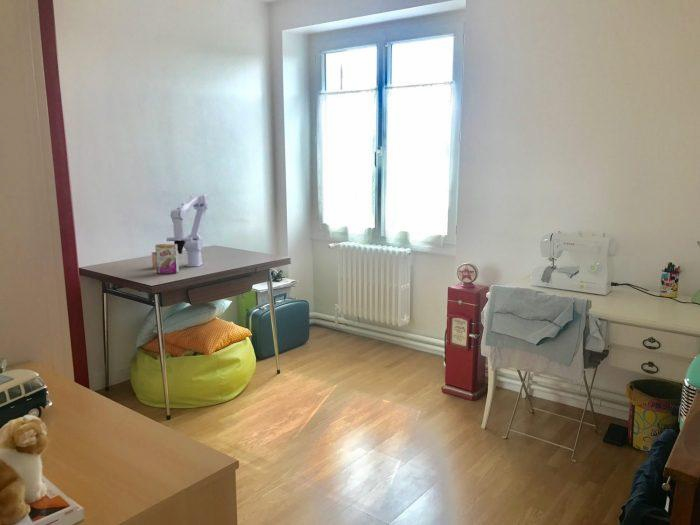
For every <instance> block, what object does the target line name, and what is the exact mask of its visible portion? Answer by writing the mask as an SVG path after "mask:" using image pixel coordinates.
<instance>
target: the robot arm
mask: <svg viewBox="0 0 700 525" xmlns="http://www.w3.org/2000/svg"><path fill="white" fill-rule="evenodd" d="M209 204H210V198H209V195H208V194H206V193H203V194H202V193H192V194H191V195H190V196H189V199H188V200H187V201H186V202H181V204H180V205H179V206H178V207H177V208H174V209H172V210H171V211H170V218H171V221H172V223H173V225H172V226H173V236H171V237H166V242H173V244H177V247H178V255H182V254H183V251H184V250H185V251H186V252H187V253H186V255H187V264H186V265H185V267H200V266H201V265H203V264H204V262H203V260H202V253H201V250H202V249H203V241H204V240H203V238H202V237H201V236H200V235H201V232H202V228H203V223H204V219H205V216H206V212H207V210H208V208H209ZM192 207H193V209H194V210H196V212H195V217H194V221H193V226H192V228H191V232H190V234H189V235H187V236H185V222H184V220H185V219H186V216H187V214H188V213H189V212H190V211H191V208H192Z"/></svg>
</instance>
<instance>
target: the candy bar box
mask: <svg viewBox="0 0 700 525" xmlns="http://www.w3.org/2000/svg"><path fill="white" fill-rule="evenodd" d="M154 247H155V252H156V261H157V269H156V274H157V275H158V274H163V275H164V274H178V273H179V272H180V270H179V268H180V267H179V266H180V265H179V253H178V247H177V244H174V243H157V244H156V245H155V246H154Z"/></svg>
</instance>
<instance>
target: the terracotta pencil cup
mask: <svg viewBox="0 0 700 525" xmlns="http://www.w3.org/2000/svg"><path fill="white" fill-rule="evenodd" d="M151 264H152V265H151V266H152V269H153V270H157V261H156V251H153V252H151Z"/></svg>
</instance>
